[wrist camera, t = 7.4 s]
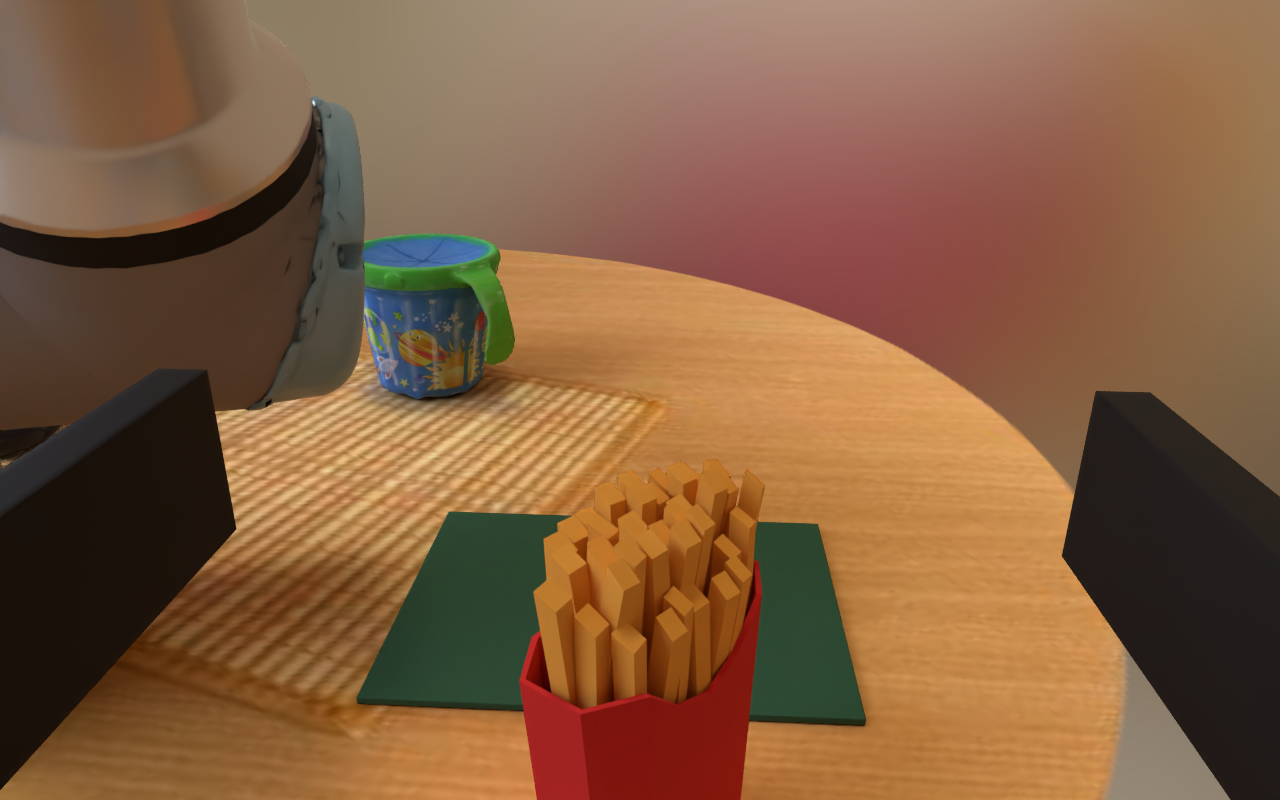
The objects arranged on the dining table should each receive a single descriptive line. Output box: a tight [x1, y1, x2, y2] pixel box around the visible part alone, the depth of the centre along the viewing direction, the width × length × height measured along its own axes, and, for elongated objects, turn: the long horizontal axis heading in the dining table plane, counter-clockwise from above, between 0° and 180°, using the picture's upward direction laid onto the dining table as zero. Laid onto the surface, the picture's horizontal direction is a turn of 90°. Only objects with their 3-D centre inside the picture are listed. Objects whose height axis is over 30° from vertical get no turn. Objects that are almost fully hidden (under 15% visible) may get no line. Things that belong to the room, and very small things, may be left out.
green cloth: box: [357, 512, 866, 725], centre depth 43 cm, size 20×15×1 cm
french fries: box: [519, 459, 765, 800], centre depth 28 cm, size 9×4×13 cm, turn 143°
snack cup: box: [362, 234, 515, 399], centre depth 67 cm, size 16×10×10 cm
